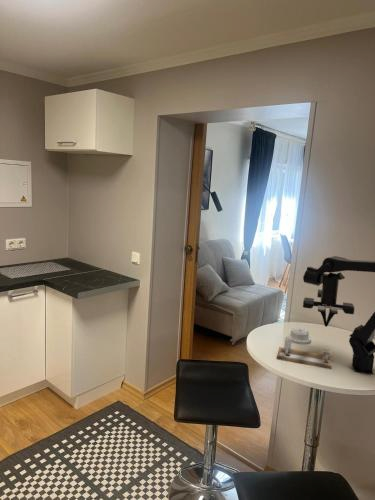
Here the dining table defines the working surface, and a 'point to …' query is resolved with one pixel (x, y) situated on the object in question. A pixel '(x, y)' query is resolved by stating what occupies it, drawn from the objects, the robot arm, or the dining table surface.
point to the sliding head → (287, 345)
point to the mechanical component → (300, 336)
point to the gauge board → (306, 357)
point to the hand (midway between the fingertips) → (325, 326)
